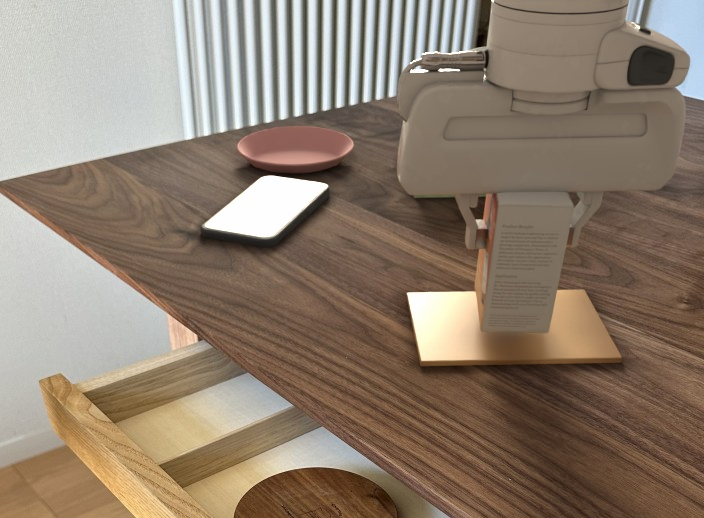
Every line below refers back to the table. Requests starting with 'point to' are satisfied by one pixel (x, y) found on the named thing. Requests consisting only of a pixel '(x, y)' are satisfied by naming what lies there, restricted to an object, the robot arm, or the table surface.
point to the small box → (522, 260)
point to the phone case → (266, 211)
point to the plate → (295, 149)
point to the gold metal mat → (507, 333)
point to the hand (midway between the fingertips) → (520, 245)
